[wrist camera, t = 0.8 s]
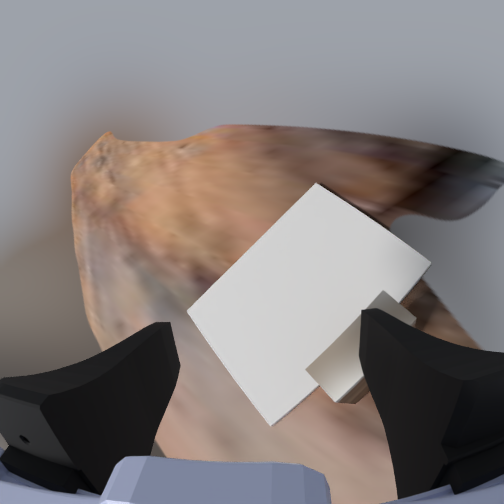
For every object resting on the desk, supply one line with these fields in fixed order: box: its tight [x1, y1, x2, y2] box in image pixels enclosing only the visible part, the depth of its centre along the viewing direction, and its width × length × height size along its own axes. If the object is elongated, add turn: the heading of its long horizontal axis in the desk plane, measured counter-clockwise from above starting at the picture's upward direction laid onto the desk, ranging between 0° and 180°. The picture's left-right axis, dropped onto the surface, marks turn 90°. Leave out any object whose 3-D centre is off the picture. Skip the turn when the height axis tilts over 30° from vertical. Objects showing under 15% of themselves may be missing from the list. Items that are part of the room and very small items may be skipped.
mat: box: [187, 183, 432, 426], centre depth 27 cm, size 14×18×1 cm
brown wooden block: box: [305, 290, 416, 404], centre depth 19 cm, size 2×6×8 cm, turn 128°
